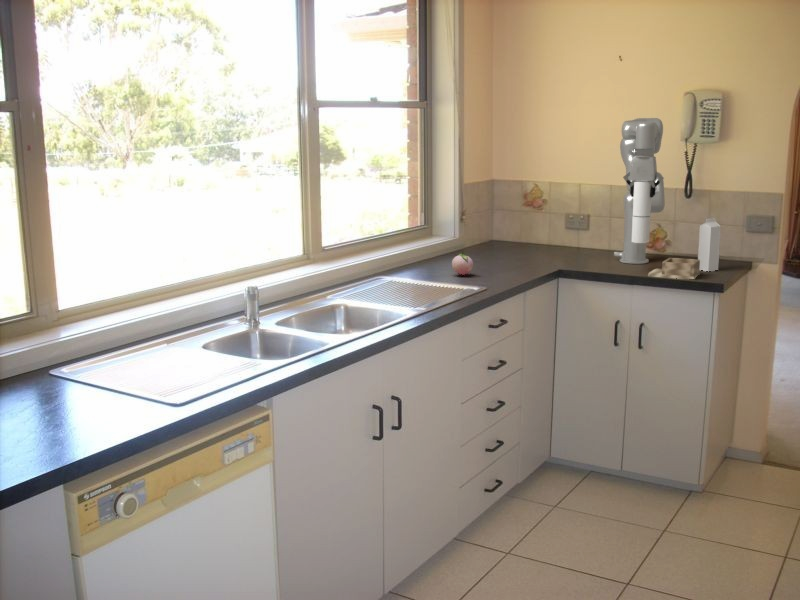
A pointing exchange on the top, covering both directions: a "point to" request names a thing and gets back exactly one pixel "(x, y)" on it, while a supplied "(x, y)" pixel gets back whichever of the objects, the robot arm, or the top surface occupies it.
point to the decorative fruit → (462, 264)
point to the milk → (709, 245)
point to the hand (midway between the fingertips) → (642, 196)
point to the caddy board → (677, 269)
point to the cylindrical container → (641, 212)
